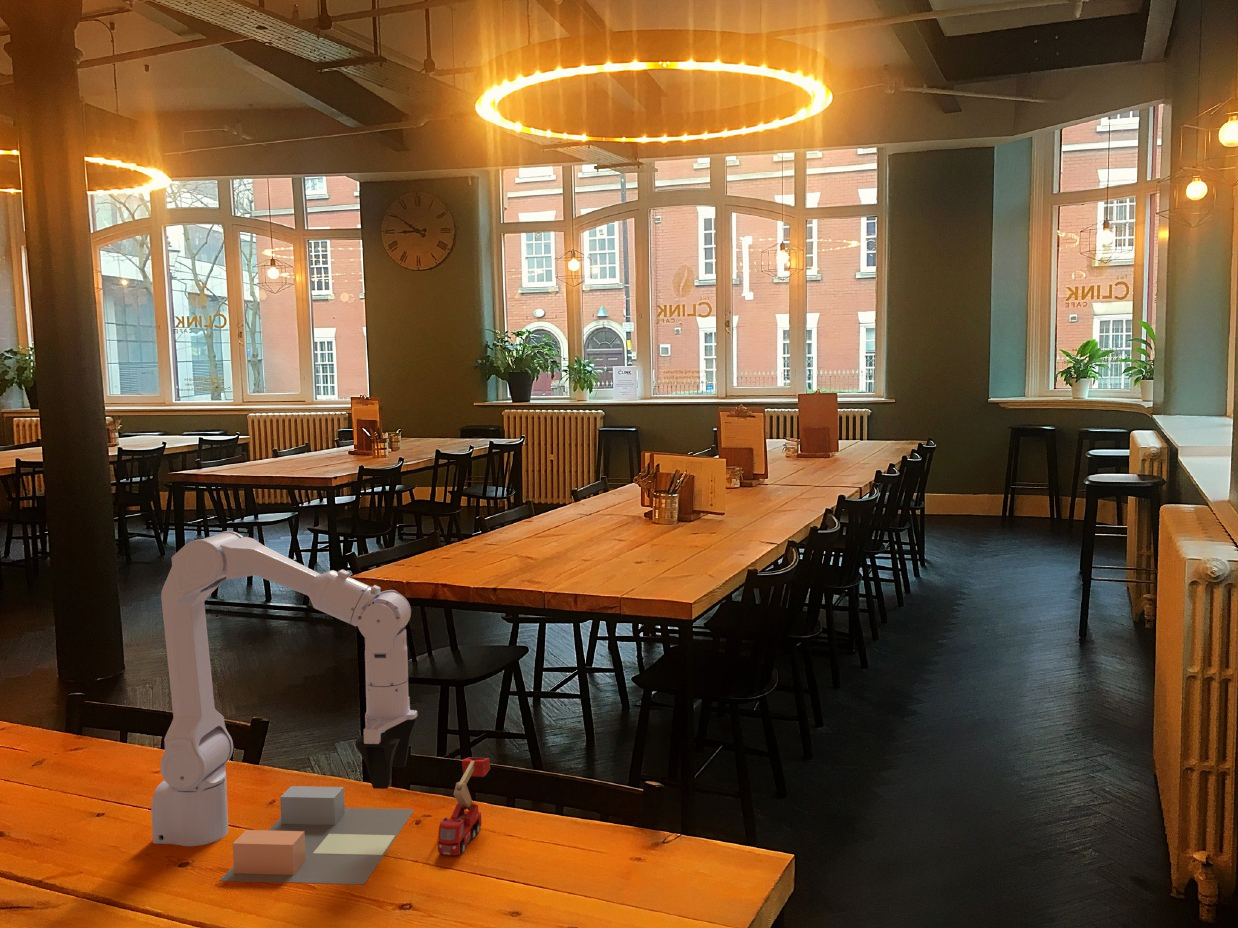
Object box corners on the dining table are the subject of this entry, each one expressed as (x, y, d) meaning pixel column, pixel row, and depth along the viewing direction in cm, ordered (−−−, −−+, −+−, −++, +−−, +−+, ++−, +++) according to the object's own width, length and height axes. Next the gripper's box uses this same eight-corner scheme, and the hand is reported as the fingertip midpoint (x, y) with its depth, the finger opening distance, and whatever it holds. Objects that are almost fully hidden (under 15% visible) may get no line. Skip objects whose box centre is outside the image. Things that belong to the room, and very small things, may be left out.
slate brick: (281, 823, 146) (280, 796, 145) (292, 812, 149) (291, 786, 149) (335, 825, 145) (334, 798, 145) (344, 813, 149) (343, 787, 149)
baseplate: (219, 889, 129) (219, 880, 129) (291, 814, 152) (291, 806, 152) (364, 893, 127) (364, 883, 127) (414, 817, 150) (414, 808, 150)
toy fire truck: (435, 857, 137) (434, 788, 136) (470, 815, 151) (468, 752, 150) (458, 859, 136) (457, 790, 136) (491, 817, 150) (490, 754, 149)
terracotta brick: (233, 873, 131) (232, 843, 130) (247, 858, 135) (246, 829, 134) (293, 874, 130) (292, 844, 130) (305, 860, 134) (304, 831, 134)
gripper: (399, 697, 131) (402, 798, 132) (429, 667, 146) (431, 758, 147) (347, 696, 132) (350, 797, 133) (381, 666, 146) (384, 757, 147)
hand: (389, 776), depth 140 cm, fingers open, 7 cm apart
